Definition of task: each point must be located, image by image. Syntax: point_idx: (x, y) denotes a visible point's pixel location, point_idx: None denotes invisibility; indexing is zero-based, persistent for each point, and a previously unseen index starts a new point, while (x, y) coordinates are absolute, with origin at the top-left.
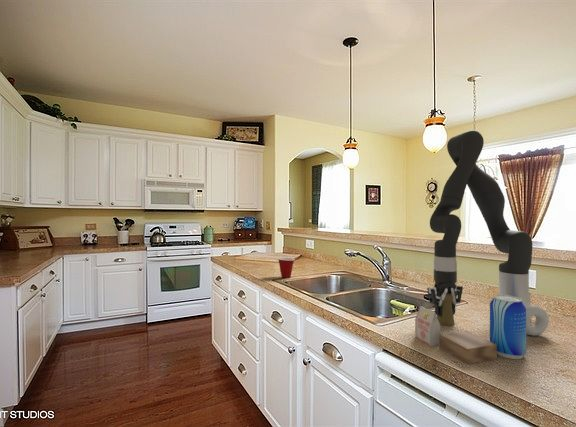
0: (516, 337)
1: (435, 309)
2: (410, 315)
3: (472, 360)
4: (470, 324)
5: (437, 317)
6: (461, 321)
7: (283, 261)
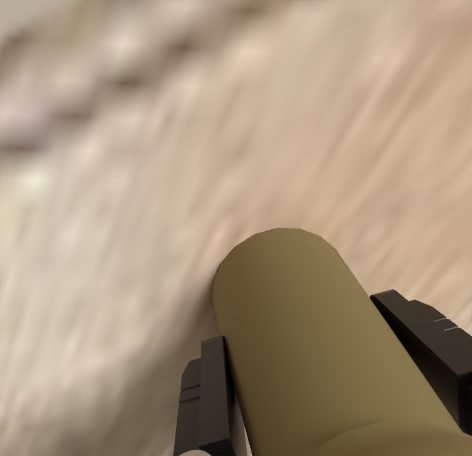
0: None
1: (181, 416)
2: (12, 86)
3: None
4: (448, 318)
5: (219, 318)
6: (431, 261)
7: None
